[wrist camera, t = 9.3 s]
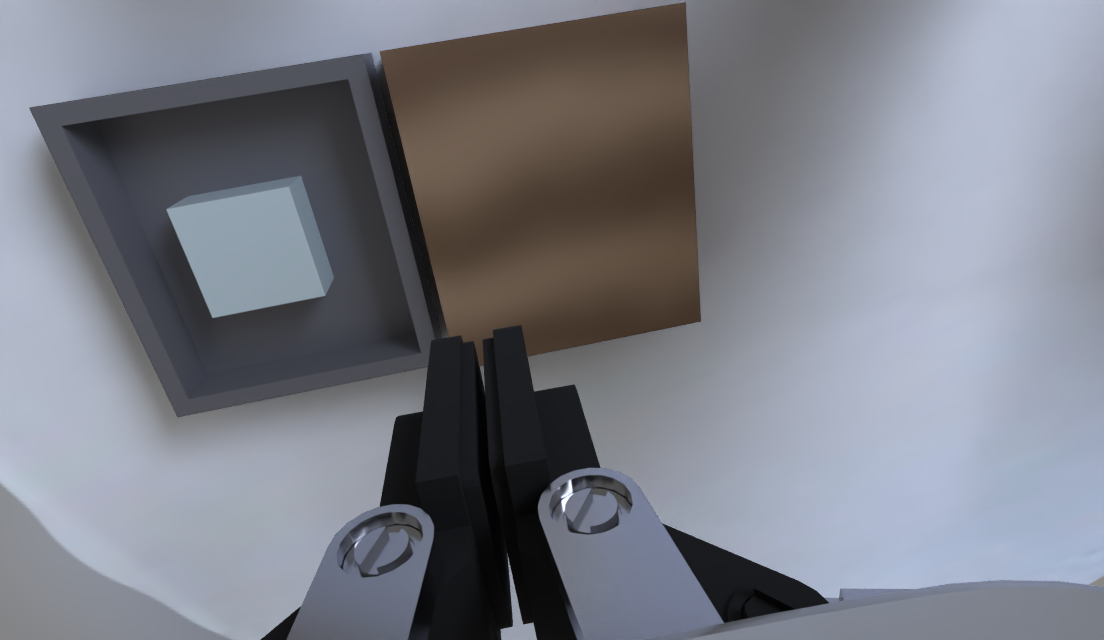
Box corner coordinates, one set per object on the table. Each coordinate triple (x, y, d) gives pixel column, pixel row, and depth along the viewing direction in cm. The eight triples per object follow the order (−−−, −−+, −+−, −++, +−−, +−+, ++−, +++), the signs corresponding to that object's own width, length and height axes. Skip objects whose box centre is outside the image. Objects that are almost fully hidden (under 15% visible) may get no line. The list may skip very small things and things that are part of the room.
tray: (72, 101, 26) (29, 108, 23) (371, 52, 27) (363, 53, 24) (200, 385, 32) (177, 417, 29) (441, 337, 33) (441, 364, 30)
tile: (288, 186, 26) (300, 175, 28) (165, 209, 26) (188, 196, 28) (325, 295, 28) (334, 277, 30) (212, 317, 28) (229, 298, 30)
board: (388, 50, 27) (379, 51, 24) (654, 7, 28) (685, 2, 24) (455, 334, 33) (457, 370, 29) (673, 291, 34) (700, 321, 30)
